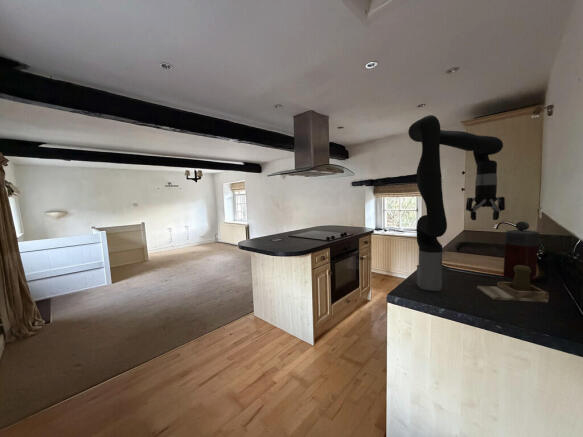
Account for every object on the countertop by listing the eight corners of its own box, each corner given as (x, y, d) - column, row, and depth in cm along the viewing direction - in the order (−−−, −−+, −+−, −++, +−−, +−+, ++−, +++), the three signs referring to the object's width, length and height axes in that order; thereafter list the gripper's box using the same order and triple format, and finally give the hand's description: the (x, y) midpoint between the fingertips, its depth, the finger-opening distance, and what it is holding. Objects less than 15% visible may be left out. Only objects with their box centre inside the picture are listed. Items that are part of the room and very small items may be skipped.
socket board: (493, 299, 94) (494, 290, 94) (476, 288, 105) (477, 280, 105) (549, 302, 90) (550, 293, 90) (525, 290, 102) (526, 282, 101)
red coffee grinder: (538, 278, 115) (542, 221, 113) (525, 281, 111) (529, 223, 109) (516, 273, 123) (519, 220, 121) (503, 276, 119) (505, 221, 117)
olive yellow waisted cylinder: (535, 294, 94) (537, 268, 94) (517, 294, 96) (519, 267, 95) (524, 289, 100) (525, 263, 99) (507, 288, 102) (508, 263, 101)
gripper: (472, 184, 104) (471, 221, 105) (510, 183, 101) (508, 220, 102) (463, 185, 111) (462, 219, 113) (498, 184, 108) (497, 219, 110)
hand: (484, 220), depth 108 cm, fingers open, 8 cm apart
